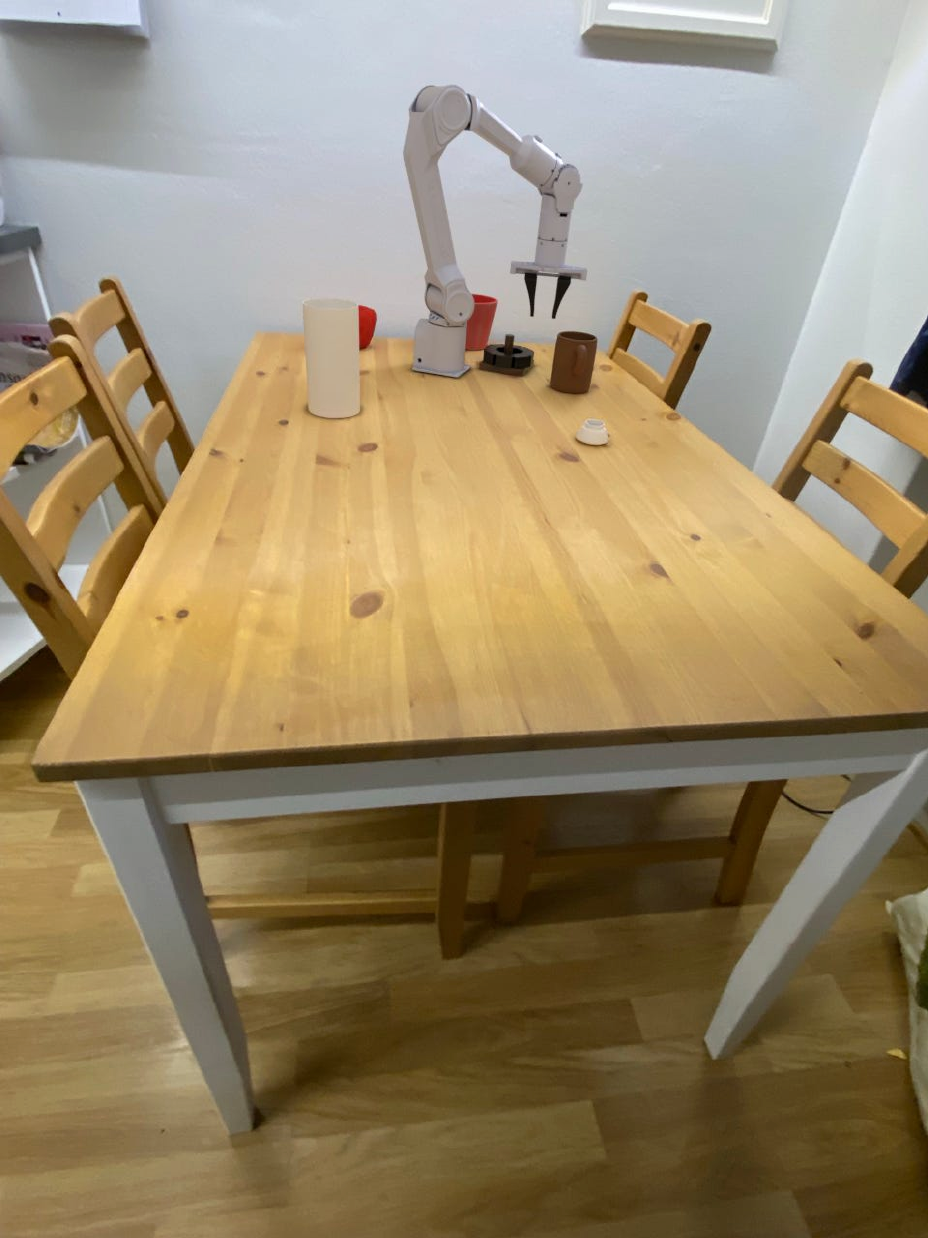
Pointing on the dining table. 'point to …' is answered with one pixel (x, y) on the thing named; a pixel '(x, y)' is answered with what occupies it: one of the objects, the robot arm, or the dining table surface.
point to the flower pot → (480, 322)
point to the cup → (332, 356)
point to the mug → (573, 361)
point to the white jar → (593, 432)
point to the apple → (366, 325)
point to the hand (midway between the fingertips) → (542, 316)
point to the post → (508, 350)
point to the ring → (508, 356)
